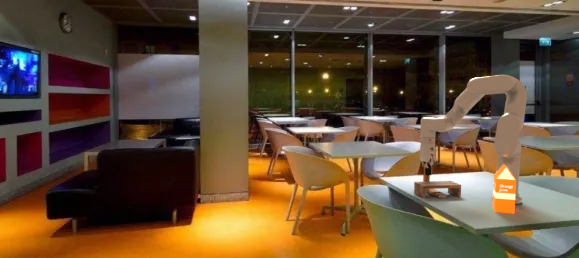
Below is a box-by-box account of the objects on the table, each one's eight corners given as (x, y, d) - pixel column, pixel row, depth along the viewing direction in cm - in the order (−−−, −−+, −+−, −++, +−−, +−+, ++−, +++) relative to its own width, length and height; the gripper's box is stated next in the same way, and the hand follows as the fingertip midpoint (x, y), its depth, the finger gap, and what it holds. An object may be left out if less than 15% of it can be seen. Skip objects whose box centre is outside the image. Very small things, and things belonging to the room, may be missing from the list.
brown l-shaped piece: (443, 195, 205) (444, 167, 203) (434, 195, 204) (435, 167, 203) (429, 189, 219) (430, 163, 218) (420, 189, 219) (421, 163, 218)
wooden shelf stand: (460, 196, 203) (461, 184, 202) (423, 198, 200) (423, 186, 199) (450, 192, 213) (450, 180, 212) (414, 193, 210) (414, 181, 209)
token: (448, 198, 200) (448, 195, 200) (439, 198, 199) (439, 195, 199) (443, 196, 205) (443, 193, 204) (434, 196, 204) (434, 193, 204)
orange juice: (511, 208, 182) (513, 164, 180) (514, 213, 173) (517, 167, 172) (491, 206, 184) (493, 163, 183) (494, 211, 176) (496, 166, 175)
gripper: (441, 142, 208) (440, 177, 210) (427, 138, 224) (426, 171, 226) (428, 142, 207) (427, 177, 209) (414, 139, 223) (413, 172, 225)
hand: (426, 174), depth 217 cm, fingers closed on brown l-shaped piece
